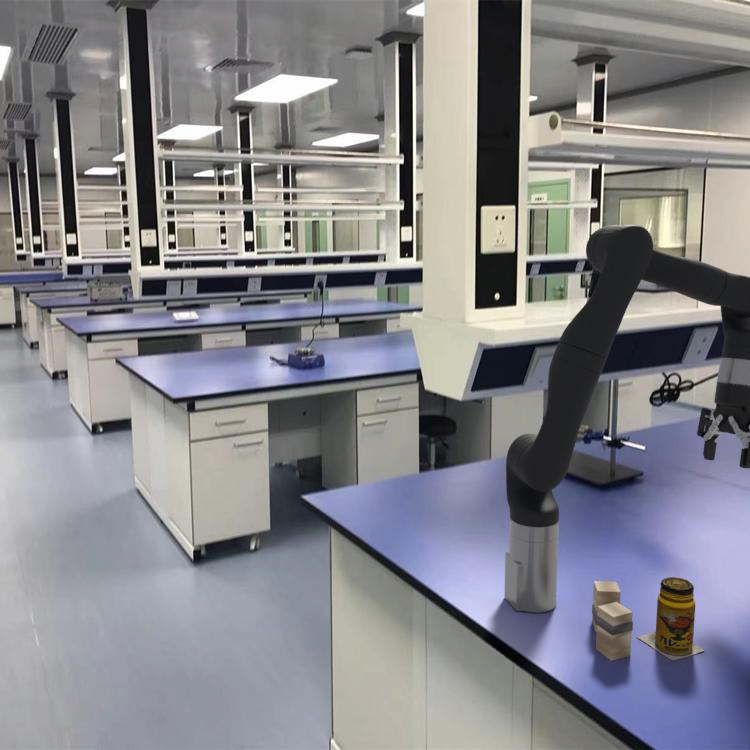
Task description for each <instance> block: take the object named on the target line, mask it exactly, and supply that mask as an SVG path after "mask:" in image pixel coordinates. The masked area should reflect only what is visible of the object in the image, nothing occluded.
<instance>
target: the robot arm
mask: <svg viewBox="0 0 750 750" xmlns="http://www.w3.org/2000/svg"><path fill="white" fill-rule="evenodd" d="M585 254H586V259H587V260H588V263H589V265H590V266H592V268H593V269H595V271H598V272H599V273H600V275H599V279H598V281H597V283H596V286H595V288H594V291H593V292H592V294H591V296H590V297H589V299H588V300H587V301H586V303H585V304H584V305H583V306H582V308H581V309H580V310H579V311H578V313H576V315H575V316H574V317H573V318H572V319H571V321H570V322H569V323H568V324H567V326H566V327H565V328H564V330H563V332H562V334H561V336H560V338H559V340H558V343H557V344H556V347H555V350H554V353H553V355H552V359H551V362H550V365H549V370H548V376H547V403H546V409H545V414H544V418H543V420H542V423H541V426H540V428H539V430H538V433H536V434H535V433H524V434H522V435H519V436H517V437H516V438H515V439H514V440H513V441H512V443H511V444H510V446H509V448H508V451H507V454H506V461H505V464H506V465H505V476H506V477H505V480H506V482H505V485H506V488H505V489H506V501H507V504H508V507H509V546H508V547H509V550H508V551H506V552H505V555H504V557H505V559H504V560H505V561H504V598H505V600H506V601H507V602H508V603H509V604H510V605H511V607H512V608H513V609H514V610H515V612H526V613H545V612H546V613H547V612H549V611H552V610H553V609H555V607H556V606H557V596H558V591H557V590H558V588H557V587H558V560H559V557H558V556H559V535H560V531H559V528H560V507H559V504H558V502H557V500H556V499H555V497H554V494H553V490H554V489H555V488H557V487H558V486H559V485H560V484H561V483H562V482H563V481H564V479H565V477H566V475H567V473H568V470H569V468H570V464H571V462H572V458H573V453H574V449H575V446H576V443H577V438H578V436H579V432H580V429H581V426H582V423H583V420H584V417H585V415H586V413H587V409H588V407H589V405H590V402H591V400H592V397H593V393H594V391H595V389H596V387H597V385H598V382H599V379H600V378H601V375H602V373H603V370H604V367H605V365H606V362H607V359H608V357H609V355H610V352H611V348H612V345H613V343H614V341H615V338H616V335H617V333H618V331H619V329H620V326H621V324H622V321H623V319H624V316H625V313H626V311H627V309H628V306H629V304H630V302H631V300H632V299H633V297H634V295H635V292H636V291H637V290H638V287H639V285H640V283H641V281H644V282H648V283H651V284H654V285H657V286H659V287H661V288H664V289H667V290H669V291H672V292H675V293H677V294H679V295H682V296H685V297H688V298H690V299H693V300H696V301H697V302H701V303H704V304H706V305H710V306H716V307H718V306H719V307H720V314H721V323H722V329H723V330H722V332H723V336H724V341H723V346H722V352H721V353H722V354H721V361H720V363H719V368H718V372H717V379H716V386H715V392H714V393H715V394H714V399H713V401H714V404H715V405H716V406H715V408H708V407H702V408H701V411H700V416H699V420H698V426H697V430H696V431H697V432H696V435H697V436H698V437H701V438H702V439H703V441H704V444H703V450H702V452H703V453H702V454H703V459H704V460H707V461H715V459H716V458H715V457H716V450H717V440H719V438H720V437H721V436H722V435H724V434H731V435H735V436H736V438H737V439H739V440H740V443H741V445H742V448H741V451H740V458H739V459H740V460H739V468H742V469H747V470H748V469H750V276H747V275H744V274H743V275H742V274H737V273H732V272H728V271H726V270H724V269H722V268H719V267H717V266H715V265H711V264H709V263H706V262H704V261H700V260H696V259H692V258H689V257H685V256H681V255H680V256H679V255H676V254H671V253H668V252H665V251H661V250H658V249H654V241H653V238H652V235H651V233H650V232H649V231H648V229H647V228H646V227H643V226H642V225H638V224H612V225H605V226H603V227H601V228H598V229H596V230H595V231H594V232H593V233H592V234H591V236H590V237H589V238H588V240H587V242H586V247H585Z"/></svg>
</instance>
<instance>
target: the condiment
mask: <svg viewBox="0 0 750 750" xmlns="http://www.w3.org/2000/svg"><path fill="white" fill-rule="evenodd" d="M694 590H695V587H694V585H693V583H691V582H690V581H689V580H687V579H685V578H682V577H675V576H672V577H671V576H670V577H665V578H662V579H661V581H660V588H659V593H658V595H657V600H656V601H657V605H656V622H655V631H653V632H650V633H646V634H643V635H639V636H637V637H636V638H637V639H639V640H641V641H642V642H644V643H645V644H646V645H648V646H650V647H651V648H652V649H654V650H655V651H657V652H658V653H659V654H662V656H664V657H666V658H667V659H669V660H671V661H673V662H674V661H678V660H680V659H685V658H688V657H690V656H691V657H692V656H695V655H697V654H699V653H701V652H705V649H703V648H702V647H700V646H698V645H696V644H695V643H694V636H695V635H694V634H695V633H694V632H695V630H694V629H695V618H696V617H695V616H696V601H695V599H694V594H695V593H694Z"/></svg>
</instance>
